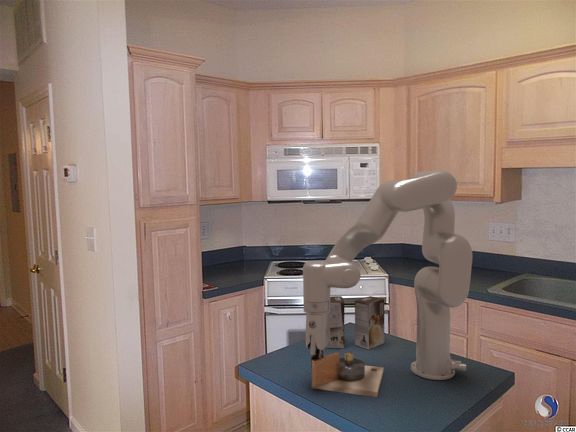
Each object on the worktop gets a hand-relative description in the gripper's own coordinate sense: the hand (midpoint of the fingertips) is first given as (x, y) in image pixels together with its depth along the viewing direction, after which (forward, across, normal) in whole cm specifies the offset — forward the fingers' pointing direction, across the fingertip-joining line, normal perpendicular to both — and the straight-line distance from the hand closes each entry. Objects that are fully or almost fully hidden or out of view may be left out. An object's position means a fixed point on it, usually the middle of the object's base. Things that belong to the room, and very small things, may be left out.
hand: (317, 369), depth 124 cm
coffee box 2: (+5, +36, -10) cm, 37 cm away
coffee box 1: (+5, +32, +2) cm, 33 cm away
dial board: (+4, +6, -8) cm, 11 cm away
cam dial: (+3, +2, -5) cm, 6 cm away
